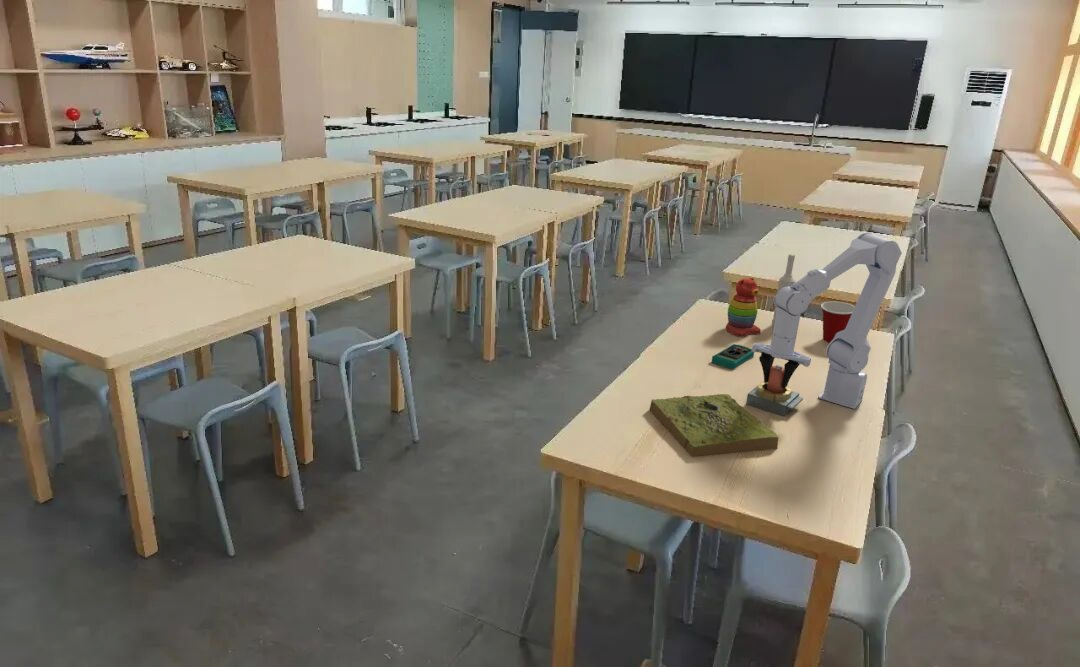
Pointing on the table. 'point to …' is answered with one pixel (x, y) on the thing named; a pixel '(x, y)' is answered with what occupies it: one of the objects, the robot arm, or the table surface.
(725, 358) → the digital multimeter
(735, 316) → the stacking bear
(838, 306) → the plastic cup
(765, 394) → the stone well model
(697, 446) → the miniature landscape model
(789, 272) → the bottle
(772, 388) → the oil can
